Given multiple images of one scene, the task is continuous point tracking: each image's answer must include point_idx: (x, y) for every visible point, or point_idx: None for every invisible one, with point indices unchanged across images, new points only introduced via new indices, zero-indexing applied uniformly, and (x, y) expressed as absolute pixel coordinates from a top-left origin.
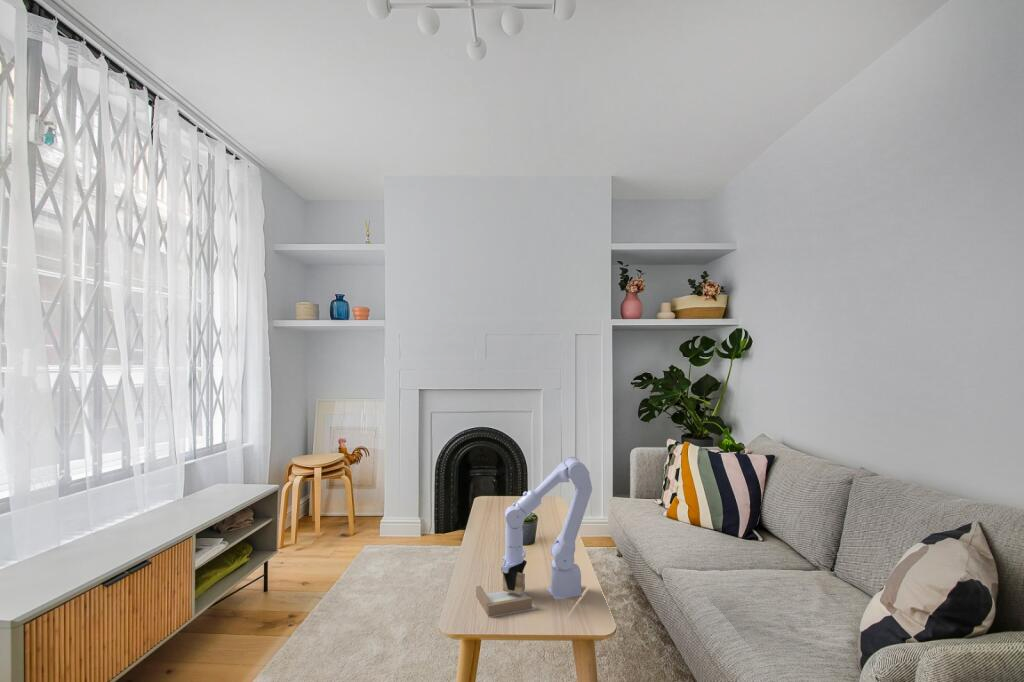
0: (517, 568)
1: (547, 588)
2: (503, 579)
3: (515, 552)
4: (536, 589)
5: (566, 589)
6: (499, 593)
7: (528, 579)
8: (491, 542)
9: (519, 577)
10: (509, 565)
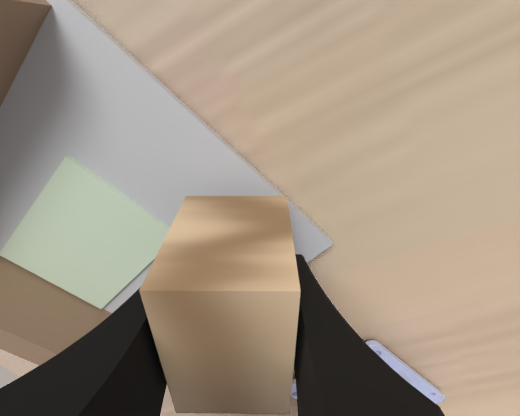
0: (304, 410)
1: (375, 347)
2: (156, 260)
3: None
4: (366, 300)
5: None
6: (190, 153)
7: (501, 226)
8: None
9: (195, 406)
10: None
